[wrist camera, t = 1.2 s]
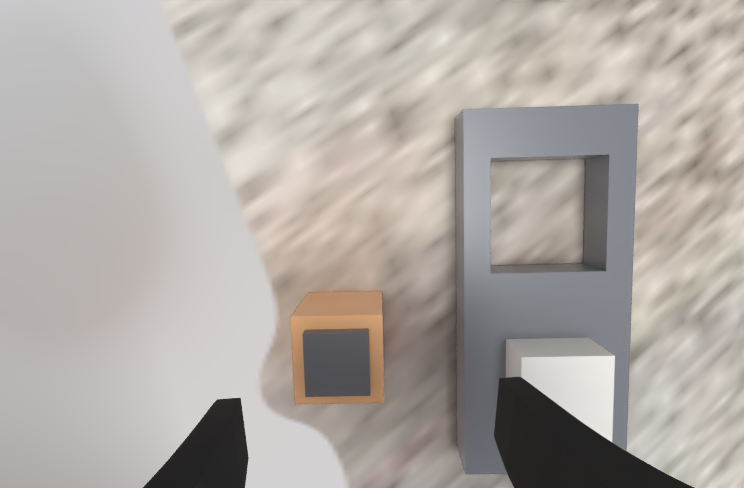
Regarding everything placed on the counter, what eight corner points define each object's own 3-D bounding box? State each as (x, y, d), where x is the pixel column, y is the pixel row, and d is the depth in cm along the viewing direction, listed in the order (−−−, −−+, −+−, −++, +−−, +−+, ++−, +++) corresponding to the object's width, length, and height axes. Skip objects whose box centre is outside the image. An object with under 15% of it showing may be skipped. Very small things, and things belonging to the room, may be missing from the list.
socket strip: (600, 487, 26) (653, 557, 21) (457, 488, 26) (475, 559, 21) (611, 113, 23) (673, 91, 18) (454, 118, 24) (474, 97, 19)
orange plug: (383, 361, 25) (384, 409, 20) (311, 363, 25) (291, 410, 20) (381, 290, 25) (382, 318, 19) (308, 292, 25) (287, 320, 19)
